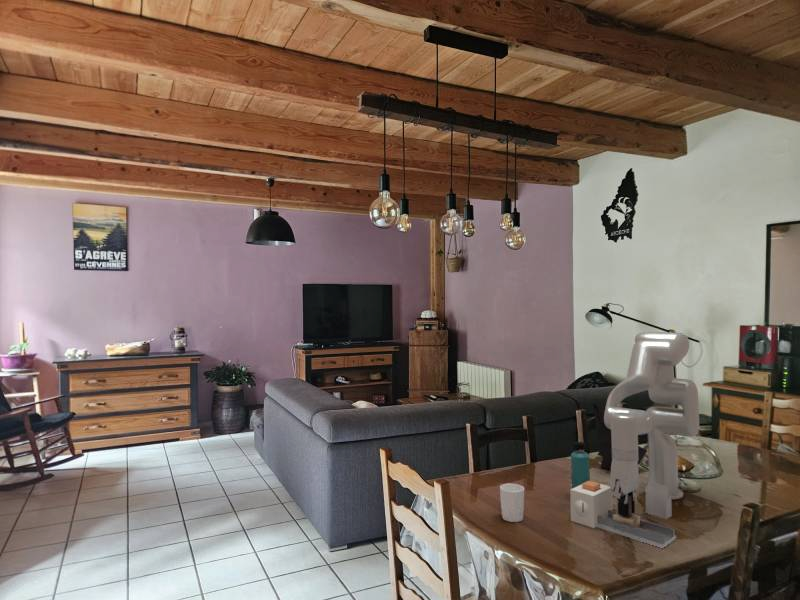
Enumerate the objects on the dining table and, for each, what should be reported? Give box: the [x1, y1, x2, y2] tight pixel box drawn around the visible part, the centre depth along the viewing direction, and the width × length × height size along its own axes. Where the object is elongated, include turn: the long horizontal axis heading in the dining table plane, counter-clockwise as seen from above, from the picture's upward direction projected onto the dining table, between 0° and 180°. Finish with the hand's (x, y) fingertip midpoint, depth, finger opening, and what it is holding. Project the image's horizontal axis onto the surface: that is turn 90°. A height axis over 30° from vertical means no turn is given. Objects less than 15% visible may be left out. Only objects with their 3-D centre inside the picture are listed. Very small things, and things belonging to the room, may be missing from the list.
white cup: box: [499, 483, 525, 523], centre depth 170 cm, size 8×8×10 cm
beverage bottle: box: [570, 441, 591, 489], centre depth 186 cm, size 6×7×20 cm
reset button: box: [582, 480, 601, 492], centre depth 168 cm, size 4×4×4 cm
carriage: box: [613, 494, 641, 527], centre depth 159 cm, size 5×6×9 cm
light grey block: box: [644, 481, 673, 520], centre depth 170 cm, size 4×7×10 cm, turn 39°
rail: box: [596, 510, 677, 549], centre depth 157 cm, size 9×20×3 cm, turn 41°
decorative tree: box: [592, 403, 648, 471], centre depth 214 cm, size 15×15×35 cm
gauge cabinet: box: [569, 483, 614, 529], centre depth 167 cm, size 12×8×10 cm, turn 131°
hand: (626, 513), depth 159 cm, fingers closed on carriage, 3 cm apart
